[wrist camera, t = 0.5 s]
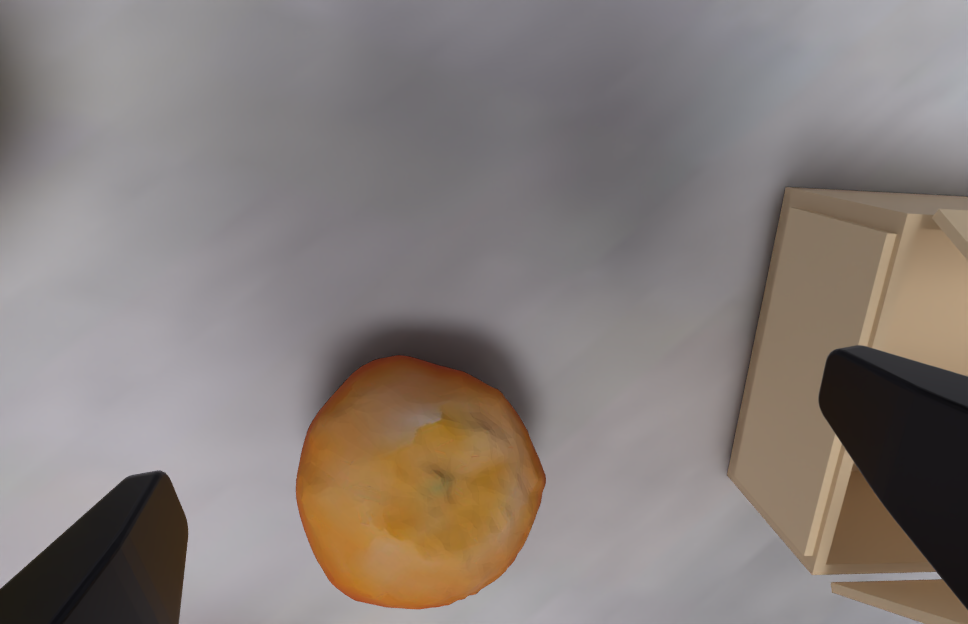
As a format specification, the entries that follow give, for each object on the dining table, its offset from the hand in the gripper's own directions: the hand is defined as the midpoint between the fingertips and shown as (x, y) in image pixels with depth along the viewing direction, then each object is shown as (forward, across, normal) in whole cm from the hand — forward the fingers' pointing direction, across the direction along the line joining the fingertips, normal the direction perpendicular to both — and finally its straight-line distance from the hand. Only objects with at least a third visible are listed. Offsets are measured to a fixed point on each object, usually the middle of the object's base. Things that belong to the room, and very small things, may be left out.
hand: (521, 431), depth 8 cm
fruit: (+13, +1, +10) cm, 17 cm away
